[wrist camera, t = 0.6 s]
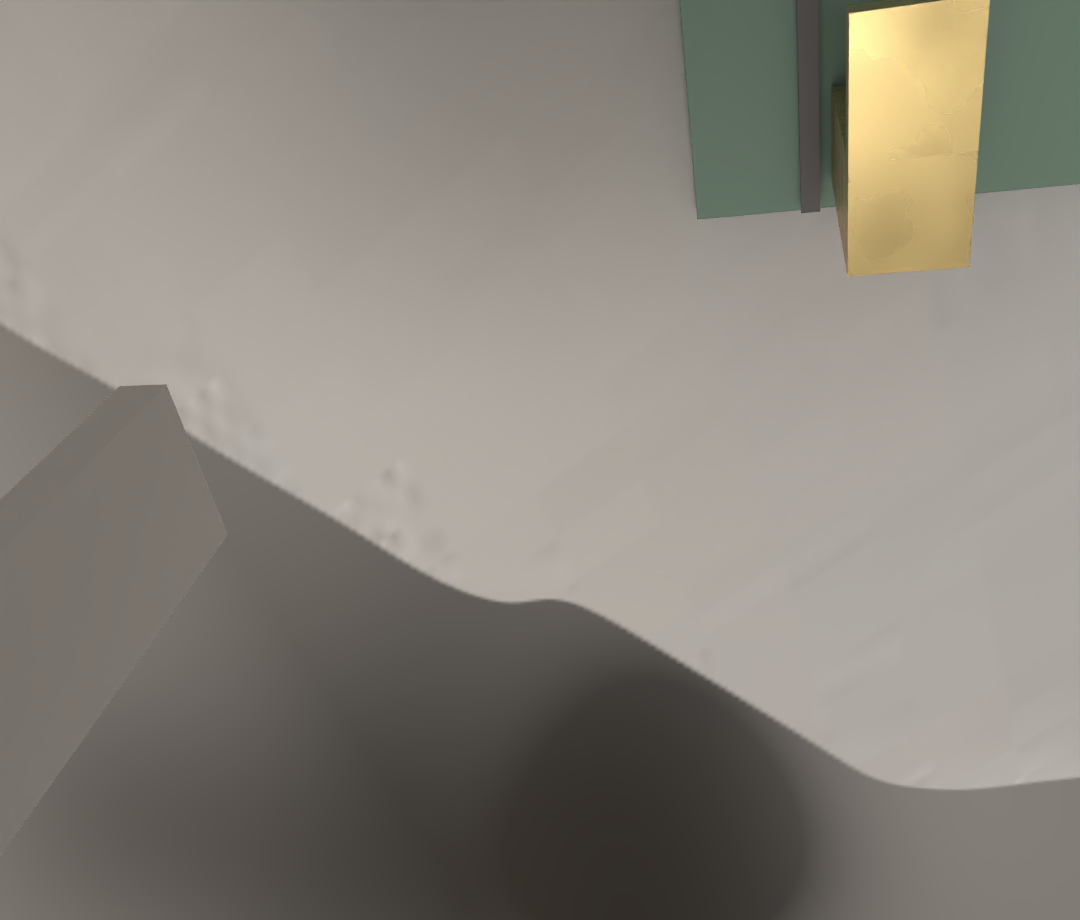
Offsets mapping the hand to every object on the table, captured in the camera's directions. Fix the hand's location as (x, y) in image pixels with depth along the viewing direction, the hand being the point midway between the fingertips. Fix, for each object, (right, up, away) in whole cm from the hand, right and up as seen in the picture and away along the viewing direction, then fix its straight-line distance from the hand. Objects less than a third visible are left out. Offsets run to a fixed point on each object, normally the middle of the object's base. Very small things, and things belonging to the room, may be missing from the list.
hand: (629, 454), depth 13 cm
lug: (+9, +12, +17) cm, 23 cm away
